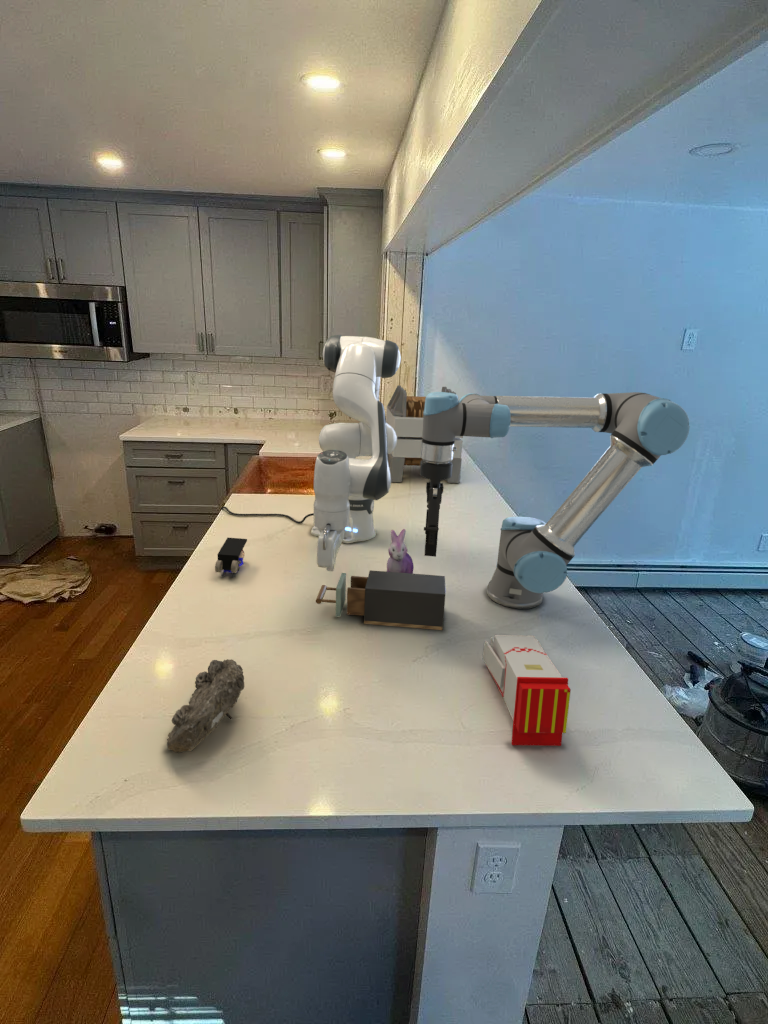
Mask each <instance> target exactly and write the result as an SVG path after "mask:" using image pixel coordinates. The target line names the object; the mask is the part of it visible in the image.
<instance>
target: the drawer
mask: <svg viewBox="0 0 768 1024" xmlns="http://www.w3.org/2000/svg"><path fill="white" fill-rule="evenodd" d="M367 579H368V576H359V575H350V587H347V572H341V573H340V576H339V579H338V581H337V584H336V587H331V586H327V585H326V584H322V585H321V586H320V588H319V591H318V594H317V596H316V598H315V603H316V604H317V605H321V604H322V603H327V604H329V603H330V604H335V617H336V618H337V617H338V618H341V616H342V613H343V609H344V606H345V603H346V615H351V616H361V617H362V616H363V617H364V608H365V587H366V583H367ZM327 591H334V592H335V599H327V598H324V597H325V595H326V592H327Z"/></svg>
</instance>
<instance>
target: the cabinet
mask: <svg viewBox="0 0 768 1024" xmlns="http://www.w3.org/2000/svg"><path fill="white" fill-rule="evenodd" d="M367 577H368V579H367V583H366V587H365V608H364V616H363V624H364V625H375V626H388V627H399V628H411V629H425V630H437V631H443V629H444V628H443V627H444V618H445V617H444V615H445V604H446V576H445V575H436V574H425V573H424V574H423V573H413V574H412V573H398V572H387V571H384V570H369V572H368V576H367Z"/></svg>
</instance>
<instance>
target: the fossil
mask: <svg viewBox="0 0 768 1024" xmlns="http://www.w3.org/2000/svg"><path fill="white" fill-rule="evenodd" d="M243 670H244V669H243V667H242V665H240V664H237V662H236V661H235V660H234V659H232V658H231V659H227V658H226V659H224V660H223V661H222V660H217V659H212V660H211V661H210V663H209V665H208V666H207V671H201V672H199V673H198V674H197V675H196V676H195V680H194V684H195V685H194V687H195V689H194V690H193V693H192V694H191V697H190V698H189V700H188V704H184V705H182V706H181V707H180V709H177V710H176V711H175V713H174V715H173V716H172V718H171V723H172V724H173V727H172V730H171V731H170V732H168V734H167V738H166V741H167V742H166V745H167V749H168V750H169V751H173V752H174V753H176V754H178V753H182V752H188V751H189V752H192V751H193V750H195V748H196V747H197V746H199V744H200V743H201V742H203V741H204V740H205V739H206V738H207V737H208V736H209V735H210V734H211V733H212V732H214V730H215V729H217V727H218V726H219V724H220V722H221V721H222V720H223V719H224V718H225V716H226V717H227V719H229V720H233V717H232V715H230V714H229V710H230V709H231V708H234V706H235V704H236V703H237V702H238V699H239V697H240V695H241V693H242V691H243V690H245V689H244V688H245V675H244V671H243Z"/></svg>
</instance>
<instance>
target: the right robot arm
mask: <svg viewBox="0 0 768 1024" xmlns="http://www.w3.org/2000/svg"><path fill="white" fill-rule="evenodd" d="M425 397H426V398H425V406H424V412H423V432H422V442H421V458H422V460H421V462H420V466H419V476H420V477H421V478H423V479H426V480H429V481H426V484H425V485H426V486H425V492H426V508H427V509H426V514H425V515H426V516H425V526H423V531H424V534H425V539H424V540H425V543H424V555H423V556H424V557H435V558H436V557H437V550H438V549H437V548H438V537H439V530H440V528H439V523H440V522H439V521H440V509H441V504H442V499H443V497H442V496H443V494H444V482H441V481H446V480H447V479H449V478H451V476H452V466H453V463H452V462H451V460H453V451H456V447H454V442H455V436H463V437H472V438H473V437H474V438H490V439H494V438H505V437H507V435H508V434H509V431H510V428H511V427H515V428H516V427H517V428H519V427H520V428H521V427H522V428H527V427H528V428H567V429H568V428H570V429H571V428H574V429H591V430H592V431H593V432H594V433H607V434H610V436H609V441H610V446H609V447H608V448H607V449H606V450H605V452H604V453H603V454H602V455H601V456H600V457H599V459H598V460H597V462H596V463H595V464H594V465H593V466H592V468H590V470H589V471H588V472H587V474H586V475H585V476H584V477H583V479H582V480H581V481H580V482H579V483H578V485H576V487H575V488H574V489H573V491H572V492H571V493H570V494H569V495H568V496H567V498H566V499H565V500H564V501H563V503H561V505H560V506H559V507H558V508H557V510H556V511H555V512H554V513H553V515H552V516H551V517H550V518H549V519H548V520H547V522H545V521H544V520H542V519H539V518H535V517H532V516H531V517H529V516H509V517H506V518H504V519H503V520H502V522H501V527H500V536H499V545H498V552H497V562H496V567H495V570H494V572H493V575H492V577H491V579H490V580H489V582H488V585H487V589H486V594H487V596H488V597H489V599H490V600H491V601H493V602H495V603H496V604H498V605H500V606H503V607H507V608H512V609H516V610H517V609H518V610H526V609H527V610H528V609H532V608H535V607H538V606H540V605H541V604H542V602H543V598H544V593H551V592H553V591H555V590H557V589H558V588H559V587H561V586H562V585H563V584H564V582H565V580H566V579H567V576H568V564H569V563H570V562H571V561H572V560H573V559H574V558H575V556H576V551H575V547H576V545H577V544H578V543H579V542H580V541H581V539H582V538H583V537H584V536H585V534H586V533H587V532H588V531H589V530H590V529H591V527H592V526H593V525H594V524H595V523H596V521H597V520H598V519H599V518H600V517H601V516H602V514H603V513H604V512H605V511H606V510H607V508H608V507H610V505H611V504H612V503H613V502H614V500H615V499H616V498H617V497H618V496H619V495H620V494H621V493H622V492H623V490H624V489H625V488H626V487H627V485H628V484H629V483H630V482H631V481H632V479H634V477H635V476H636V475H637V474H638V473H639V471H640V470H641V469H642V468H645V467H646V468H647V467H652V466H653V465H654V464H655V463H656V462H657V461H658V459H659V458H661V456H667V455H670V454H673V453H675V452H677V451H679V449H680V448H681V447H682V446H683V445H684V444H685V443H686V440H687V439H688V436H689V434H690V427H691V426H690V418H689V415H688V414H687V412H686V410H685V409H684V408H683V407H682V406H681V405H679V404H678V403H676V402H674V401H672V400H671V399H668V398H662V397H659V396H655V395H653V394H650V393H646V392H642V391H641V392H640V391H634V392H633V391H632V392H613V393H603V392H602V393H601V392H599V393H596V395H594V396H593V397H592V396H591V397H587V396H586V397H585V396H584V397H583V396H581V397H580V396H527V395H526V396H525V395H524V396H523V395H480V394H478V393H472V392H471V393H466V394H464V395H463V396H461V398H460V399H459V396H458V394H457V393H456V394H454V393H446V392H442V391H432V392H429V393H428V394H427V395H426V396H425Z"/></svg>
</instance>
